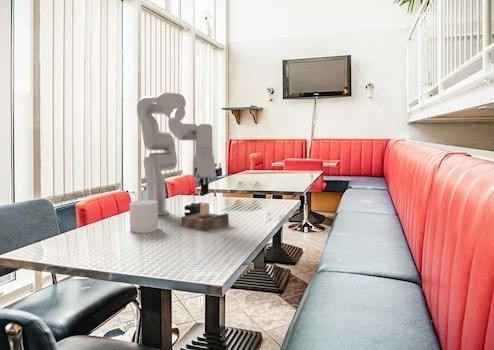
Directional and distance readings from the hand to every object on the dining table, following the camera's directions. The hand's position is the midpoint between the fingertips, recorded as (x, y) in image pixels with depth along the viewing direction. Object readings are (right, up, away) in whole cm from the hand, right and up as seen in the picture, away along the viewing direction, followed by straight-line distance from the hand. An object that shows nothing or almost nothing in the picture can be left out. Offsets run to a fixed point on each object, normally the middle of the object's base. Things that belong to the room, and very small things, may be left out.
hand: (204, 192), depth 171 cm
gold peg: (0, -15, +2) cm, 15 cm away
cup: (-26, -16, -6) cm, 31 cm away
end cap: (-7, -13, +20) cm, 25 cm away
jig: (0, -15, +2) cm, 15 cm away
